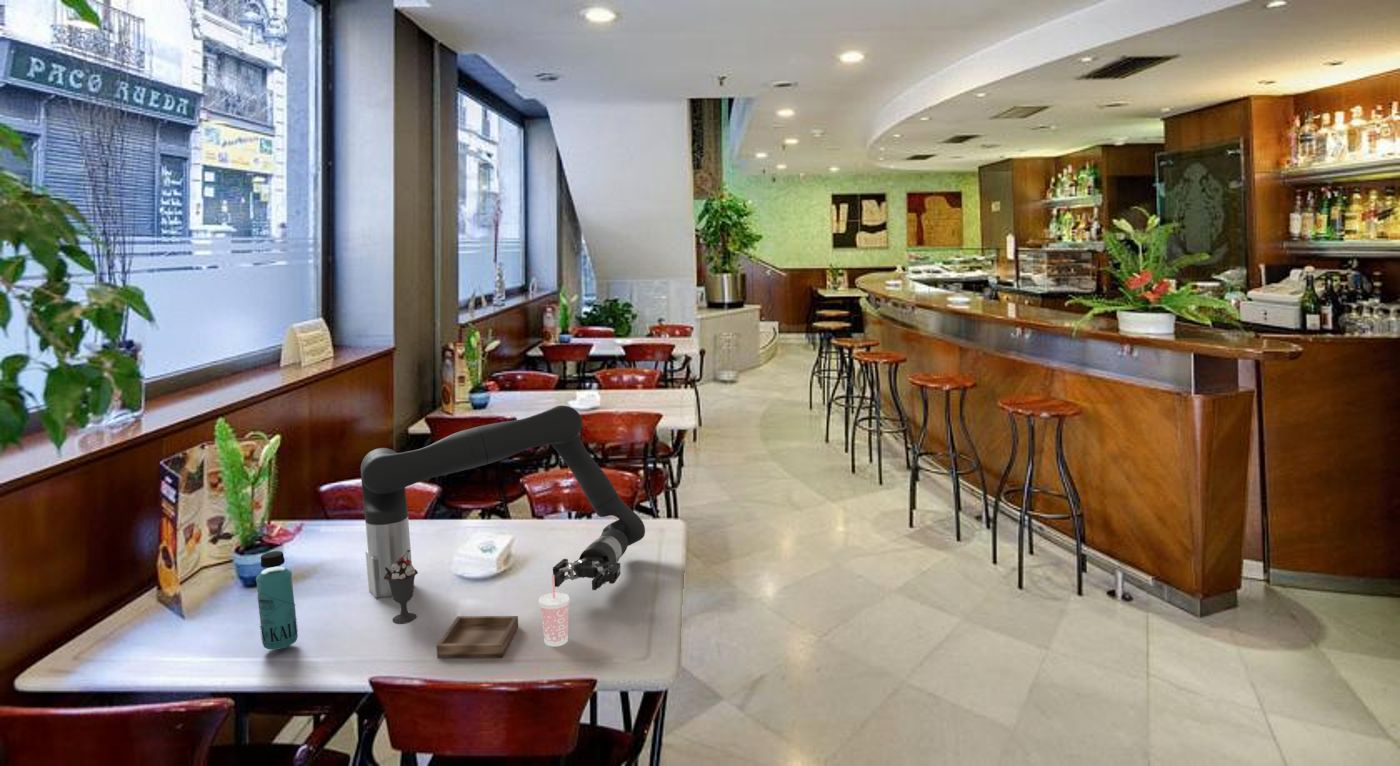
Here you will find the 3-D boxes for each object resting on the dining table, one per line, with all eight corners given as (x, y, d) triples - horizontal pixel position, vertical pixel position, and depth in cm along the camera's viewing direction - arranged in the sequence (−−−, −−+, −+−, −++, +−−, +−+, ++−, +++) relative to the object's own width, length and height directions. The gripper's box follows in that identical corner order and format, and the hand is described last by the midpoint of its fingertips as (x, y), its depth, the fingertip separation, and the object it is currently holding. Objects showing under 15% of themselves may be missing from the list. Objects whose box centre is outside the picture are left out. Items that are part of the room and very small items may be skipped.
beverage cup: (545, 651, 155) (542, 583, 153) (536, 638, 161) (533, 572, 159) (575, 643, 158) (572, 577, 156) (566, 631, 164) (562, 566, 161)
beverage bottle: (271, 642, 161) (261, 548, 158) (305, 640, 161) (295, 546, 158) (256, 658, 154) (245, 560, 151) (292, 656, 155) (281, 558, 152)
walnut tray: (437, 658, 153) (436, 645, 153) (458, 628, 166) (457, 616, 165) (502, 657, 153) (501, 645, 153) (518, 627, 165) (517, 615, 165)
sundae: (427, 613, 173) (422, 547, 170) (407, 627, 166) (401, 559, 164) (402, 609, 175) (397, 544, 173) (381, 623, 169) (375, 555, 166)
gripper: (571, 538, 185) (542, 565, 169) (630, 542, 182) (605, 570, 166) (573, 569, 186) (544, 598, 171) (631, 574, 183) (607, 603, 167)
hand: (574, 584), depth 168 cm, fingers open, 8 cm apart
